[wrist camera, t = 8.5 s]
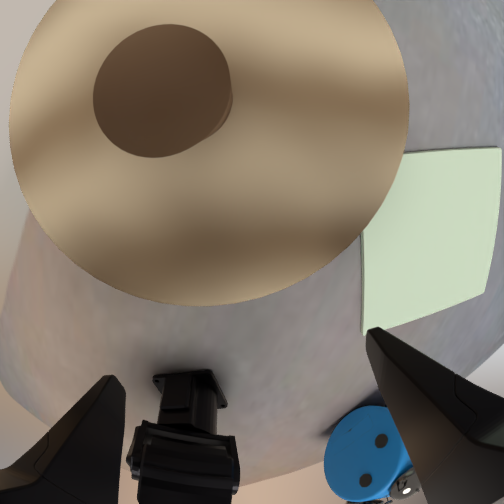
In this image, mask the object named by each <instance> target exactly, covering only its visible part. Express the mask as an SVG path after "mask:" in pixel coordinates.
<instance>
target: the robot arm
mask: <svg viewBox="0 0 504 504" xmlns="http://www.w3.org/2000/svg"><path fill="white" fill-rule="evenodd" d="M366 352H367V355H368V358H369V361H370V364H371V367H372V370H373V373H374V376H375V379H376V382H377V385H378V387H379V390H380V392H381V395H382V397H383V399H384V401H385V403H386V405H387V408H388V410H389V412H390V414H391V416H392V418H393V421H394V423H395V425H396V427H397V430H398V432H399V434H400V436H401V439H402V441H403V443H404V446H405V448H406V450H407V453H408V455H409V457H410V460H411V462H412V464H413V467H414V469H415V472H416V474H417V477H418V479H419V482H420V484H421V487H422V489H423V492H424V495H425V497H426V500H427V502H428V504H504V398H503V397H500V396H498V395H496V394H494V393H492V392H489V391H487V390H485V389H483V388H481V387H479V386H477V385H475V384H473V383H471V382H470V381H468V380H466V379H465V378H463V377H461V376H460V375H458V374H455V373H454V372H453V371H451V370H450V369H448V368H446V367H445V366H443V365H441V364H440V363H438V362H436V361H435V360H433V359H431V358H430V357H428V356H427V355H425V354H423V353H422V352H420V351H418V350H417V349H415V348H413V347H412V346H410V345H408V344H407V343H405V342H403V341H402V340H400V339H399V338H397V337H395V336H394V335H392V334H390V333H389V332H387V331H385V330H384V329H382V328H380V327H374V328H371V329H368V330H367V332H366ZM152 381H153V383H154V384H155V385H156V387H157V388H158V390H159V391H160V393H161V394H162V397H161V402H160V410H159V416H158V421H157V424H155V423H150V422H148V421H146V420H143V421H142V425H141V426H137V427H136V428H135V433H134V437H133V441H132V444H131V446H130V449H129V451H128V454H127V457H126V462H127V464H128V465H129V466H130V471H131V472H132V479H134V480H138V481H139V483H138V493H137V500H138V502H139V504H231V500H232V495H235V494H236V493H237V491H238V487H239V482H240V465H239V459H238V453H237V447H236V441H235V436H230V435H229V436H223V435H217V409H221V408H226V407H227V401H226V399H225V397H224V395H223V393H222V391H221V389H220V387H219V385H218V383H217V381H216V379H215V377H214V375H213V373H212V372H211V371H209V370H204V371H196V372H187V373H177V374H166V375H155V376H153V380H152ZM125 401H126V392H125V389H124V387H123V386H122V385H121V383H120V382H119V381H118V379H117V378H116V377H115V376H114V375H104V376H103V377H102V378H101V379H100V380H99V381H98V382H97V383H96V384H95V385H94V386H93V387H92V388H91V389H90V390H89V391H88V392H87V393H86V394H85V395H84V396H83V397H82V398H81V399H80V400H79V401H78V402H77V403H76V404H75V405H74V406H73V407H72V408H71V409H70V410H69V411H68V412H67V413H66V414H65V415H64V416H63V417H62V418H61V419H60V420H59V421H58V422H57V423H56V424H55V425H54V426H53V427H52V428H51V429H50V430H49V432H47V433H46V434H45V435H44V436H43V437H42V438H41V439H40V440H39V441H38V442H37V443H36V444H35V445H34V446H33V447H32V448H31V449H29V451H27V452H26V453H25V454H24V455H23V456H21V457H20V458H19V459H18V460H17V461H16V462H15V463H13V464H12V465H11V466H9V467H7V468H5V469H0V504H118V491H119V478H120V466H121V455H122V446H123V437H124V428H125Z"/></svg>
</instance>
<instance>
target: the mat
mask: <svg viewBox="0 0 504 504" xmlns="http://www.w3.org/2000/svg"><path fill="white" fill-rule="evenodd" d="M501 165H502V152H501V148H499V147H482V148H459V149H443V150H429V151H417V152H407V153H403V157H402V160H401V163H400V166H399V169H398V172H397V174H396V177H395V180H394V182H393V184H392V186H391V188H390V190H389V192H388V194H387V196H386V198H385V200H384V202H383V204H382V205H381V207H380V208H379V210H378V211H377V213H376V214H375V215H374V217H373V218H372V220H371V221H370V223H369V224H368V225H367V227H366V228H365V229H364V230H363V231H362V232H361V256H362V314H361V333H362V335H363V336H365V335H366V332H367V330H368V329H371V328H374V327H380V328H382V329H384V330H385V329H388V328H391V327H394V326H398V325H401V324H404V323H407V322H410V321H413V320H416V319H418V318H421V317H424V316H427V315H430V314H432V313H435V312H438V311H441V310H443V309H446V308H448V307H451V306H453V305H456V304H458V303H461V302H463V301H466V300H468V299H471V298H473V297H475V296H478V295H480V294H482V293H484V290H485V286H486V282H487V278H488V274H489V269H490V265H491V260H492V254H493V249H494V243H495V237H496V230H497V222H498V214H499V204H500V191H501Z"/></svg>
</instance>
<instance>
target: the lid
mask: <svg viewBox="0 0 504 504" xmlns="http://www.w3.org/2000/svg"><path fill="white" fill-rule="evenodd" d="M408 122H409V94H408V83H407V76H406V72H405V68H404V64H403V60H402V56H401V53H400V50H399V47H398V45H397V42H396V40H395V38H394V35H393V33H392V31H391V28H390V27H389V25H388V23H387V21H386V20H385V18H384V16H383V15H382V13H381V11H380V10H379V8H378V7H377V5H376V4H375V3H374V2H373V0H56V1H55V3H54V4H53V5H52V6H51V7H50V8H49V10H48V11H47V13H46V14H45V15H44V17H43V18H42V20H41V22H40V23H39V25H38V26H37V28H36V29H35V31H34V33H33V35H32V37H31V39H30V41H29V43H28V45H27V47H26V49H25V51H24V54H23V56H22V59H21V61H20V65H19V68H18V70H17V73H16V77H15V81H14V86H13V91H12V96H11V102H10V115H9V133H10V134H9V135H10V148H11V153H12V159H13V164H14V169H15V172H16V175H17V179H18V182H19V185H20V188H21V191H22V193H23V195H24V197H25V199H26V201H27V204H28V206H29V208H30V210H31V212H32V213H33V215H34V217H35V218H36V220H37V221H38V223H39V224H40V226H41V227H42V229H43V230H44V232H45V233H46V234H47V235H48V236H49V238H50V239H51V240H52V241H53V242H54V244H55V245H56V246H57V247H58V248H59V249H60V250H61V251H62V252H63V253H64V254H65V255H66V256H67V257H69V258H70V259H71V260H72V261H73V262H74V263H75V264H76V265H78V266H79V267H81V268H82V269H83V270H85V271H86V272H88V273H89V274H91V275H92V276H93V277H95V278H97V279H99V280H100V281H102V282H104V283H106V284H108V285H110V286H112V287H114V288H116V289H118V290H121V291H123V292H126V293H128V294H131V295H134V296H136V297H140V298H143V299H147V300H151V301H155V302H159V303H166V304H173V305H181V306H216V305H226V304H234V303H239V302H243V301H248V300H252V299H256V298H260V297H263V296H266V295H269V294H272V293H274V292H277V291H280V290H283V289H285V288H287V287H289V286H291V285H293V284H295V283H297V282H299V281H301V280H303V279H305V278H307V277H309V276H310V275H312V274H313V273H315V272H316V271H318V270H319V269H321V268H322V267H324V266H325V265H327V264H328V263H330V262H331V261H332V260H333V259H334V258H335V257H337V256H338V255H339V254H340V253H341V252H342V251H344V250H345V249H346V248H347V247H348V246H349V245H350V244H351V243H352V242H353V241H354V240H355V239H356V238H357V237H358V236H359V234H360V233H361V232H362V231H363V230H364V229H365V228H366V227H367V225H368V224H369V223H370V221H371V220H372V218H373V217H374V215H375V214H376V213H377V211H378V210H379V208H380V207H381V205H382V204H383V202H384V200H385V198H386V196H387V194H388V192H389V190H390V188H391V186H392V184H393V182H394V180H395V177H396V174H397V172H398V169H399V166H400V163H401V160H402V157H403V153H404V148H405V143H406V138H407V133H408Z"/></svg>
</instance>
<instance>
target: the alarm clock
mask: <svg viewBox="0 0 504 504" xmlns="http://www.w3.org/2000/svg"><path fill="white" fill-rule="evenodd" d="M324 472H325V476H326V480H327V482H328V484H329V486H330V488H331V489H332V491H333V492H334V493H335V494H336V495H338V496H339V497H340V498H342V499H344V500H347V502H346V503H345V504H384V501H382V500H375V499H380V498H385V497H389V496H390V497H392V498H393V499H396V500H403V499H407V498H409V497H411V496H413V495H414V494H416V493H417V492H419V491H420V489H421V484H420V482H419V479H418V477H417V474H416V472H415V469H414V467H413V464H412V462H411V460H410V457H409V455H408V453H407V450H406V448H405V446H404V443H403V441H402V439H401V436H400V434H399V432H398V430H397V427H396V425H395V423H394V421H393V418H392V416H391V414H390V412H389V410H388V408H387V405H385V407H381V406H364V407H361V408H358V409H356V410H354V411H352V412H351V413H349V414H348V415H347V416H345V417H344V418H343V419H342V420H341V421H340V422H339V424H338V425H337V426H336V428H335V429H334V431H333V432H332V434H331V436H330V438H329V441H328V443H327V447H326V450H325V456H324ZM387 501H388V498H387ZM391 502H392V500H390V501H388V502H386V503H385V504H389V503H391Z"/></svg>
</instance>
